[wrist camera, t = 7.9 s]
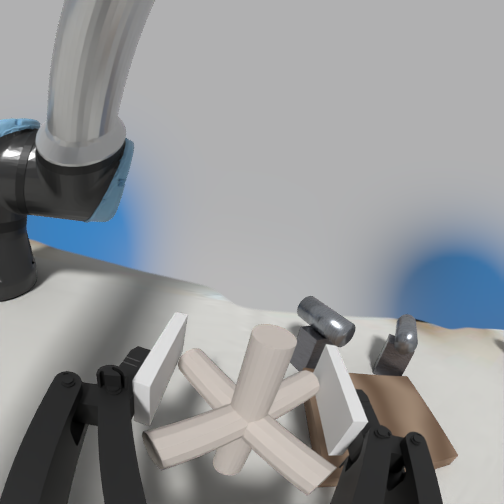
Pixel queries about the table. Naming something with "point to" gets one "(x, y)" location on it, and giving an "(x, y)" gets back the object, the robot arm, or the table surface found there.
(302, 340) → the grey capsule on block
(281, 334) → the pipe connector
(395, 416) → the mounting pad
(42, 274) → the table surface
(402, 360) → the dark grey piece
